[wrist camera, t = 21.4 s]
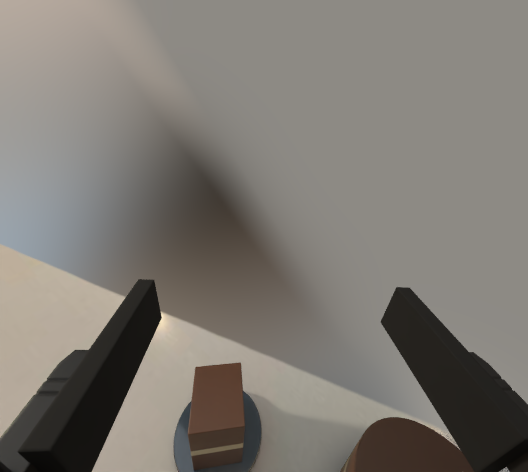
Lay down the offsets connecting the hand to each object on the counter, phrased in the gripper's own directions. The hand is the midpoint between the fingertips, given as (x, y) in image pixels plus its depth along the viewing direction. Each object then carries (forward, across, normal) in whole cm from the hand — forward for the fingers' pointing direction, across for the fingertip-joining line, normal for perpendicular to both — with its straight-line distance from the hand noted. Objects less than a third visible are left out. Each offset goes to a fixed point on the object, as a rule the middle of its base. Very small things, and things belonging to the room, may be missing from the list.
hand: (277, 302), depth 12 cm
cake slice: (+3, -4, -24) cm, 24 cm away
